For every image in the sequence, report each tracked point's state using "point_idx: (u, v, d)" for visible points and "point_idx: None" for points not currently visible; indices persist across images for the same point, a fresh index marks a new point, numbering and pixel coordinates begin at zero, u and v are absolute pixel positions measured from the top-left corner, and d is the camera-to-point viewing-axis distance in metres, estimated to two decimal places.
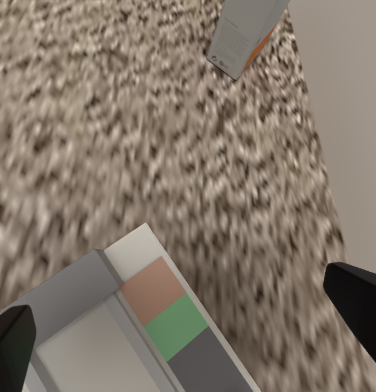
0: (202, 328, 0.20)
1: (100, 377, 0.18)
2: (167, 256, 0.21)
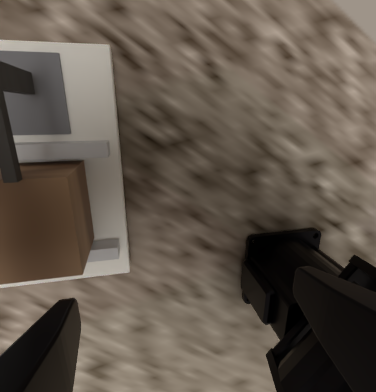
0: None
1: None
2: None
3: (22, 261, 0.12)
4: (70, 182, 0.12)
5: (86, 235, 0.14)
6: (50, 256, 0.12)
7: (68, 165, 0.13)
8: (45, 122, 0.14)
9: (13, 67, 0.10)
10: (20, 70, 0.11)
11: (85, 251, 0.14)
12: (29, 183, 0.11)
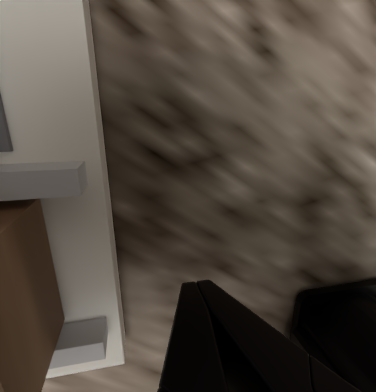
0: None
1: None
2: None
3: None
4: None
5: (41, 340, 0.08)
6: None
7: (0, 214, 0.07)
8: None
9: None
10: None
11: (36, 379, 0.07)
12: None
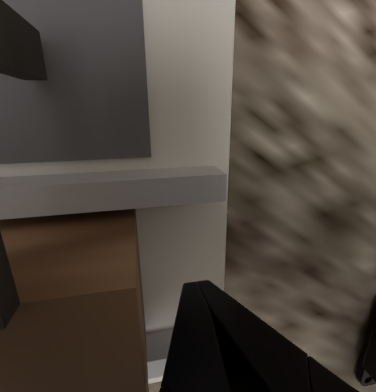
0: None
1: None
2: None
3: None
4: (137, 287, 0.05)
5: None
6: None
7: (114, 225, 0.07)
8: (108, 136, 0.07)
9: None
10: (13, 15, 0.04)
11: None
12: (39, 312, 0.04)
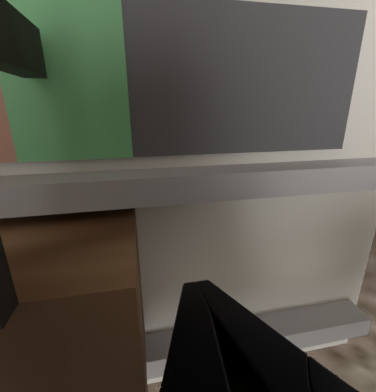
0: (116, 15, 0.06)
1: None
2: None
3: None
4: (136, 287, 0.05)
5: None
6: None
7: (114, 224, 0.07)
8: (315, 130, 0.08)
9: None
10: (13, 12, 0.04)
11: None
12: (38, 311, 0.04)
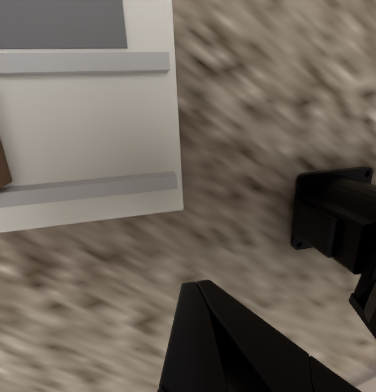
0: None
1: None
2: None
3: None
4: None
5: None
6: None
7: None
8: (102, 33, 0.13)
9: None
10: None
11: None
12: None
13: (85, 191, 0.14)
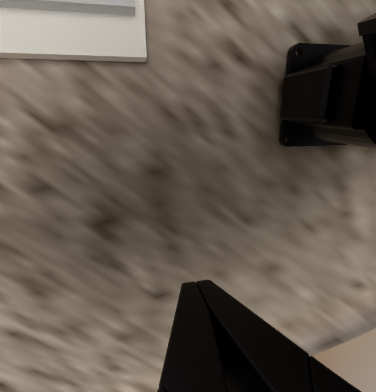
0: None
1: None
2: None
3: None
4: None
5: None
6: None
7: None
8: None
9: None
10: None
11: None
12: None
13: None
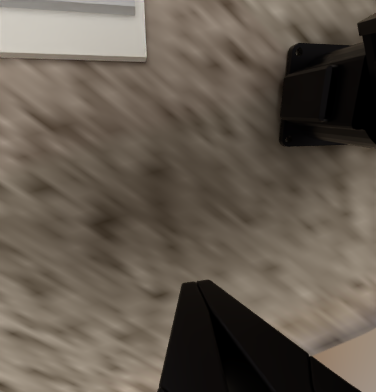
0: None
1: None
2: None
3: None
4: None
5: None
6: None
7: None
8: None
9: None
10: None
11: None
12: None
13: None
